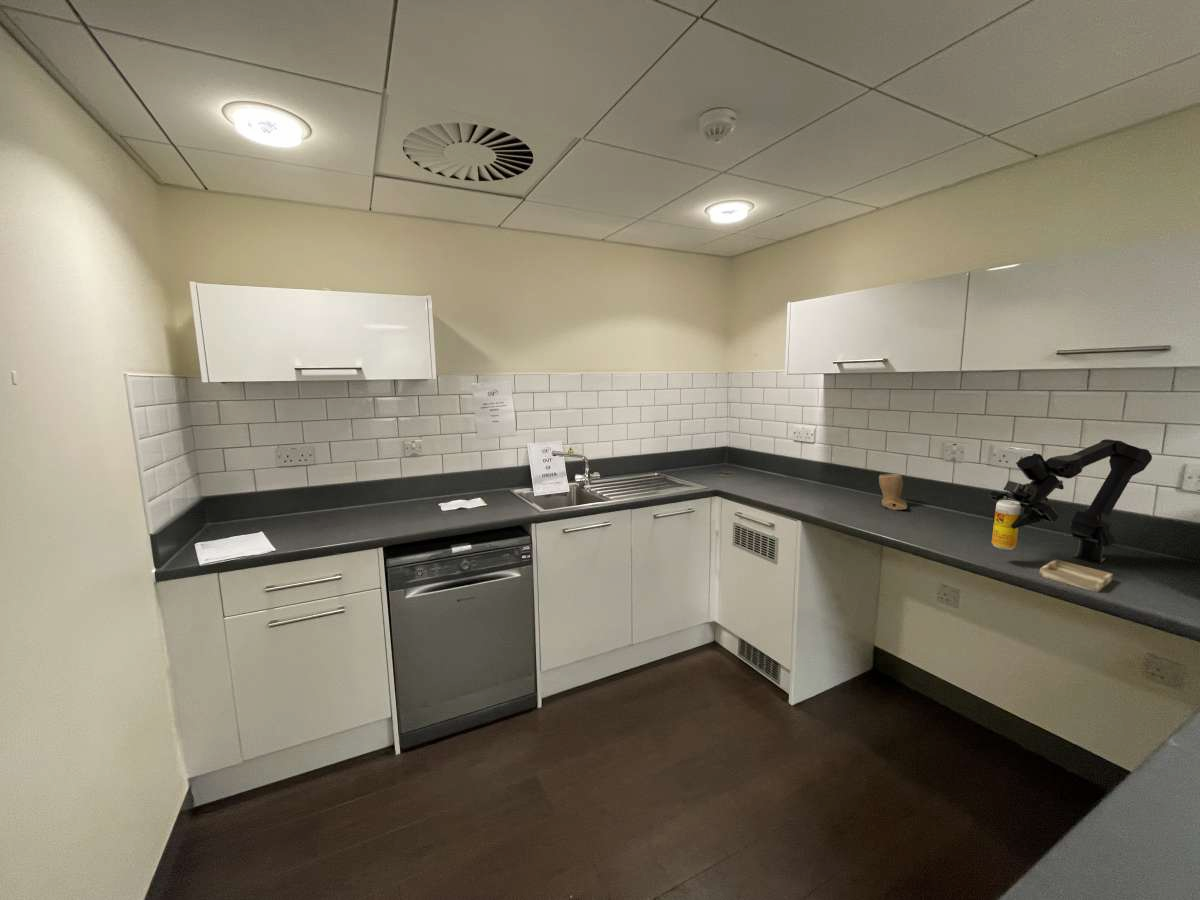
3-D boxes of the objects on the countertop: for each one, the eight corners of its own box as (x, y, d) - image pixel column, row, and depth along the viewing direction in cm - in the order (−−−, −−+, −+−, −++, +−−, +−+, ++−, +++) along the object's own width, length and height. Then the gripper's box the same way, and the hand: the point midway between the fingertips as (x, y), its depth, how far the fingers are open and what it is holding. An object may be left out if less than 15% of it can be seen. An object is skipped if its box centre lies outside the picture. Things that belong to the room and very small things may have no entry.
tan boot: (876, 500, 231) (879, 470, 228) (905, 504, 225) (909, 472, 222) (875, 508, 218) (879, 476, 216) (906, 512, 212) (910, 479, 210)
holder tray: (1053, 566, 154) (1055, 559, 153) (1111, 581, 143) (1113, 573, 143) (1038, 575, 147) (1040, 568, 147) (1098, 592, 136) (1099, 584, 136)
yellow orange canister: (987, 545, 157) (992, 500, 155) (998, 542, 159) (1003, 498, 157) (1008, 551, 152) (1014, 505, 149) (1019, 548, 154) (1026, 503, 151)
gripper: (997, 466, 161) (963, 500, 162) (1055, 479, 143) (1017, 517, 143) (1015, 488, 163) (982, 521, 164) (1075, 503, 145) (1037, 540, 146)
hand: (1002, 524), depth 154 cm, fingers closed on yellow orange canister, 6 cm apart
